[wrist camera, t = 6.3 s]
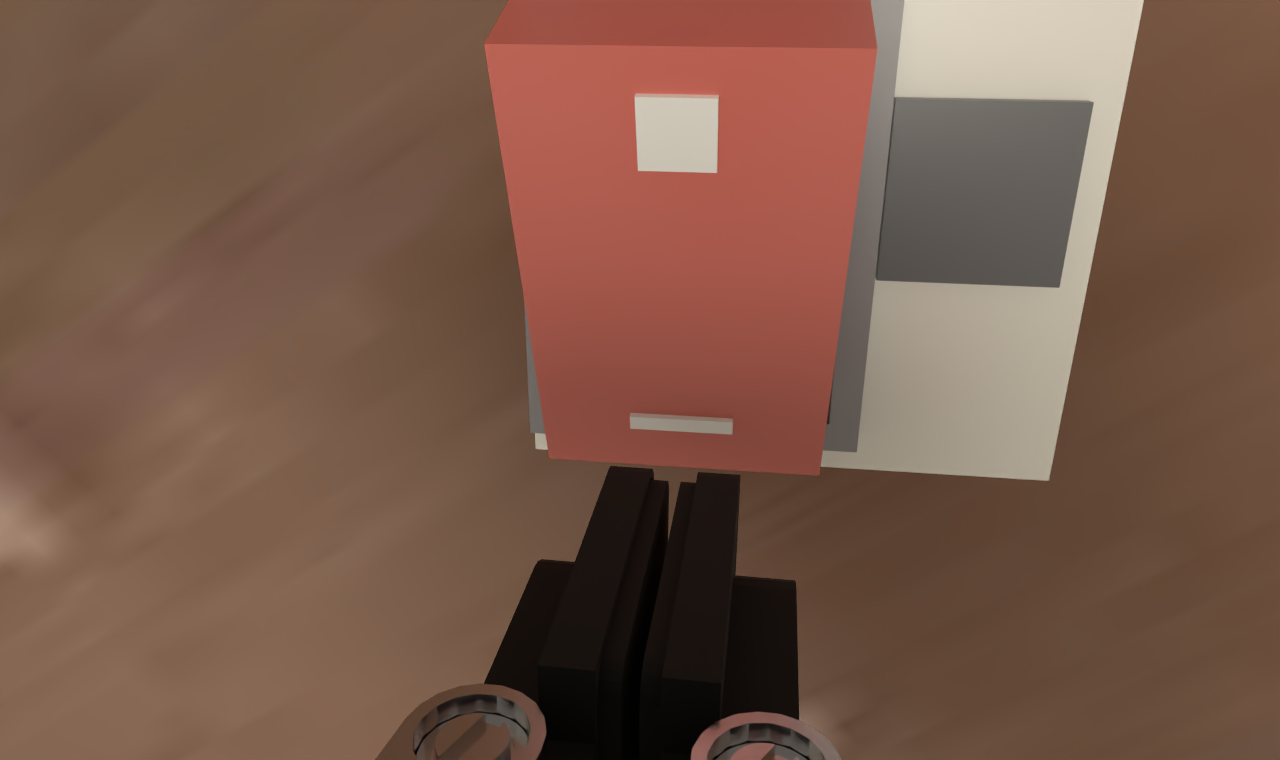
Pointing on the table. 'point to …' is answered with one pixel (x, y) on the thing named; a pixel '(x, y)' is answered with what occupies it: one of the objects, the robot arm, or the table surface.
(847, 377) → the power strip
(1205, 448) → the table surface
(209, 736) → the table surface
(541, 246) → the rocker
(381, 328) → the table surface
